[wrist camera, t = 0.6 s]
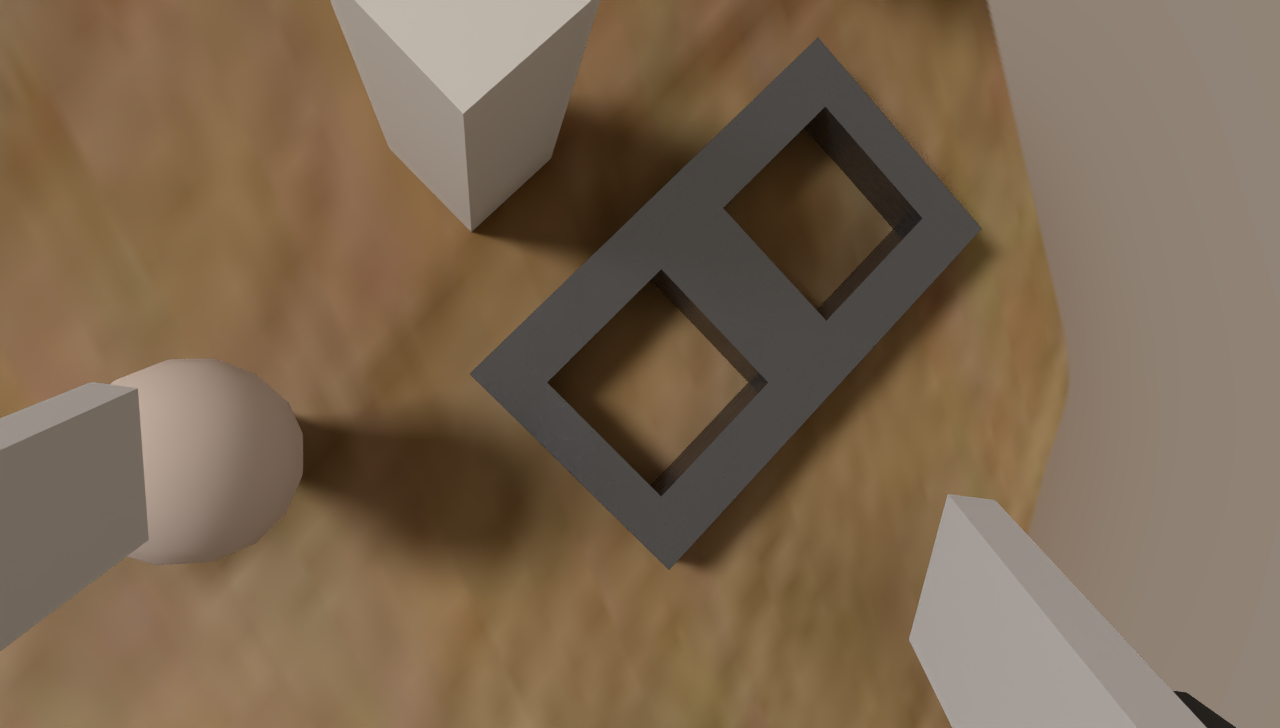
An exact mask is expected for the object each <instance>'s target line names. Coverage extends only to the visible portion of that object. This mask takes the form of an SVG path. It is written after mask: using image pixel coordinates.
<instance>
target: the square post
mask: <svg viewBox="0 0 1280 728" xmlns="http://www.w3.org/2000/svg"><path fill="white" fill-rule="evenodd" d="M330 1H331V3H332V6H333V8H334V11H335V13H336V16H337V18H338V21H339V23H340V26H341V28H342V31H343V34H344V36H345V39H346V41H347V44H348V46H349V49H350V51H351V54H352V56H353V59H354V61H355V64H356V66H357V69H358V71H359V74H360V76H361V79H362V81H363V84H364V86H365V89H366V91H367V94H368V96H369V99H370V101H371V104H372V106H373V109H374V111H375V114H376V116H377V119H378V121H379V124H380V126H381V129H382V131H383V134H384V136H385V139H386V141H387V144H388V146H389V149H390V150H391V151H392V152H393V153H394V154H395V155H396V156H397V157H398V158H399V159H400V160H401V161H402V162H403V163H404V164H405V165H406V166H407V167H408V168H409V169H410V170H411V171H412V172H413V173H414V174H415V175H416V176H417V177H418V178H419V179H420V180H421V181H422V182H423V183H424V184H425V185H426V186H427V187H428V188H429V189H430V190H431V191H432V192H433V193H434V194H435V195H436V196H437V198H438V199H439V200H440V201H441V202H442V203H443V204H444V205H445V206H446V207H447V208H448V209H449V210H450V211H451V212H452V213H453V214H454V215H455V216H456V217H457V218H458V219H459V220H460V221H461V222H462V223H463V224H464V225H465V226H466V227H467V228H468V229H469V230H470V231H471V232H472V231H473V230H474V229H475V228H476V227H478V226H479V225H480V224H481V223H482V222H483V221H484V220H485V219H486V218H487V217H488V216H489V215H491V214H492V213H493V212H494V211H495V210H496V209H497V208H498V207H499V206H500V205H501V204H502V203H504V202H505V201H506V200H507V199H508V198H509V197H510V196H511V195H512V194H513V193H514V192H515V191H517V190H518V189H519V188H520V187H521V186H522V185H523V184H524V183H525V182H526V181H527V180H528V179H530V178H531V177H532V176H533V175H534V174H535V173H536V172H537V171H538V170H539V169H540V168H541V167H543V166H544V165H545V164H546V163H547V162H548V161H549V160H550V159H551V157H552V154H553V151H554V147H555V144H556V141H557V138H558V135H559V131H560V128H561V125H562V122H563V119H564V115H565V112H566V109H567V106H568V102H569V99H570V96H571V93H572V90H573V86H574V83H575V80H576V77H577V74H578V70H579V67H580V64H581V61H582V57H583V54H584V51H585V48H586V45H587V41H588V38H589V35H590V32H591V29H592V25H593V22H594V19H595V16H596V13H597V9H598V6H599V3H600V0H330Z"/></svg>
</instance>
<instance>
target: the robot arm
mask: <svg viewBox="0 0 1280 728" xmlns="http://www.w3.org/2000/svg"><path fill="white" fill-rule="evenodd" d="M148 540H149V536H148V522H147V508H146V494H145V480H144V466H143V452H142V438H141V424H140V410H139V396H138V388H133V387H125V386H117V385H110V384H102V383H94V382H90V383H87V384H85V385H82V386H80V387H77V388H75V389H72V390H70V391H67V392H65V393H62V394H60V395H57V396H55V397H52V398H50V399H47V400H45V401H42V402H40V403H37V404H35V405H32V406H30V407H27V408H25V409H22V410H20V411H17V412H15V413H13V414H10V415H8V416H5V417H3V418H0V651H1V650H3V649H4V648H5V647H7V646H8V645H9V644H11V643H12V642H13V641H15V640H16V639H17V638H19V637H20V636H21V635H23V634H24V633H25V632H27V631H28V630H29V629H31V628H32V627H33V626H35V625H36V624H37V623H39V622H40V621H41V620H43V619H44V618H45V617H47V616H48V615H49V614H51V613H52V612H53V611H55V610H56V609H57V608H59V607H60V606H61V605H63V604H64V603H65V602H67V601H68V600H69V599H71V598H72V597H73V596H75V595H76V594H77V593H79V592H80V591H81V590H83V589H84V588H85V587H87V586H88V585H89V584H91V583H92V582H93V581H95V580H96V579H97V578H99V577H100V576H101V575H103V574H104V573H105V572H107V571H108V570H109V569H111V568H112V567H113V566H115V565H116V564H117V563H119V562H120V561H121V560H123V559H124V558H125V557H127V556H128V555H129V554H131V553H132V552H133V551H135V550H136V549H137V548H139V547H140V546H141V545H143V544H144V543H145V542H147V541H148ZM909 641H910V643H911V645H912V647H913V649H914V651H915V653H916V655H917V657H918V659H919V661H920V663H921V665H922V667H923V669H924V671H925V673H926V675H927V677H928V679H929V681H930V683H931V685H932V687H933V690H934V692H935V694H936V696H937V698H938V700H939V702H940V704H941V706H942V708H943V710H944V712H945V714H946V716H947V718H948V720H949V722H950V724H951V726H952V728H1236V727H1234V726H1233V725H1232V724H1230V723H1229V722H1227V721H1226V720H1224V719H1223V718H1221V717H1220V716H1219V715H1217V714H1216V713H1215V712H1213V711H1212V710H1210V709H1209V708H1208V707H1206V706H1205V705H1203V704H1202V703H1200V702H1199V701H1198V700H1196V699H1195V698H1193V697H1192V696H1191V695H1189V694H1188V693H1185V692H1178V691H1172V690H1171V689H1170V688H1169V687H1168V686H1167V685H1166V684H1165V682H1164V681H1163V680H1162V679H1161V678H1160V677H1159V676H1158V675H1157V674H1156V673H1155V672H1154V671H1153V669H1152V668H1151V667H1150V666H1149V665H1148V664H1147V663H1146V662H1145V661H1144V660H1143V659H1142V658H1141V656H1140V655H1138V653H1137V652H1136V651H1135V650H1134V649H1133V648H1132V647H1131V646H1130V645H1129V644H1128V642H1126V640H1125V639H1124V638H1123V637H1122V636H1121V635H1120V634H1119V633H1118V632H1117V631H1116V630H1115V629H1114V627H1113V626H1112V625H1111V624H1110V623H1109V622H1108V621H1107V620H1106V619H1105V618H1104V617H1103V616H1102V615H1101V614H1100V612H1098V610H1097V609H1096V608H1095V607H1094V606H1093V605H1092V604H1091V603H1090V602H1089V601H1088V599H1087V598H1086V597H1085V596H1084V595H1083V594H1082V593H1081V592H1080V591H1079V590H1078V589H1077V588H1076V587H1075V586H1074V584H1073V583H1072V582H1071V581H1070V580H1069V579H1068V578H1067V577H1066V576H1065V575H1064V574H1063V573H1062V572H1061V571H1060V569H1059V568H1058V567H1057V566H1056V565H1055V564H1054V563H1053V562H1052V561H1051V560H1050V559H1049V558H1048V556H1047V555H1046V554H1045V553H1044V552H1043V551H1042V550H1041V549H1040V548H1039V547H1038V546H1037V545H1036V544H1035V543H1034V541H1033V540H1031V538H1030V537H1029V536H1028V535H1027V534H1026V533H1025V532H1024V531H1023V530H1022V529H1021V527H1020V526H1019V525H1018V524H1017V523H1016V522H1015V521H1014V520H1013V519H1012V518H1011V517H1010V516H1009V515H1008V514H1007V512H1006V511H1005V510H1004V509H1003V508H1002V507H1001V506H1000V505H999V504H998V503H997V502H996V501H995V500H990V499H982V498H974V497H967V496H959V495H952V494H948V495H947V499H946V503H945V506H944V510H943V514H942V518H941V521H940V525H939V529H938V533H937V536H936V540H935V544H934V548H933V551H932V555H931V559H930V563H929V566H928V570H927V574H926V577H925V581H924V585H923V589H922V592H921V596H920V600H919V604H918V607H917V611H916V615H915V619H914V622H913V626H912V630H911V634H910V637H909Z"/></svg>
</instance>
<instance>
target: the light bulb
mask: <svg viewBox="0 0 1280 728" xmlns="http://www.w3.org/2000/svg"><path fill="white" fill-rule="evenodd" d="M110 385H117V386H125V387H133V388H138V396H139V410H140V424H141V438H142V452H143V466H144V480H145V494H146V508H147V522H148V536H149V540H148V541H147V542H145V543H144V544H143V545H141V546H140V547H139V548H137V549H136V550H135V551H133V552H132V553H131V554H129V555H128V557H131V558H135V559H138V560H141V561H144V562H147V563H150V564H154V565H165V564H182V563H198V562H208V561H216V560H219V559H221V558H224V557H226V556H228V555H230V554H232V553H235V552H237V551H239V550H241V549H244V548H246V547H248V546H250V545H253V544H255V543H257V542H258V541H259V540H260V539H261V538H262V537H263V536H264V535H265V534H266V533H267V532H268V531H269V530H270V529H271V528H272V527H273V526H274V525H275V524H276V523H277V522H278V521H279V520H280V519H281V518H282V517H283V516H284V515H285V514H286V512H287V510H288V508H289V505H290V503H291V501H292V498H293V496H294V494H295V492H296V489H297V487H298V485H299V482H300V480H301V478H302V475H303V433H302V431H301V429H300V426H299V424H298V422H297V420H296V418H295V415H294V413H293V411H292V409H291V407H290V404H289V403H288V402H287V401H286V400H285V399H284V398H283V397H281V396H280V395H279V394H278V393H277V392H276V391H275V390H274V389H272V388H271V387H270V386H269V385H268V384H267V383H266V382H265V381H263V380H262V379H261V378H260V377H259V376H258V375H257V374H255V373H253V372H250V371H247V370H244V369H242V368H239V367H236V366H234V365H231V364H228V363H226V362H223V361H220V360H217V359H215V358H214V359H168V360H166V361H163V362H161V363H158V364H155V365H153V366H150V367H148V368H145V369H143V370H140V371H137V372H135V373H132V374H130V375H127V376H125V377H122V378H119V379H117V380H115V381H114V382H112V383H111V384H110Z"/></svg>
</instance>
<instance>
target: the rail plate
mask: <svg viewBox="0 0 1280 728" xmlns="http://www.w3.org/2000/svg"><path fill="white" fill-rule="evenodd" d="M804 127H805V128H806V130H807V131H808V132H809V133H810V134H811V135H812V136H813V137H814V139H815V140H816V141H817V142H818V143H819V144H820V145H821V147H822V148H823V149H824V150H825V151H826V152H827V153H828V155H829V156H830V157H831V158H832V159H833V160H834V161H835V163H836V164H837V165H838V166H839V167H840V168H841V169H842V171H843V172H844V173H845V174H846V175H847V176H848V177H849V179H850V180H851V181H852V182H853V183H854V184H855V185H856V186H857V188H858V189H859V190H860V191H861V192H862V193H863V194H864V196H865V197H866V198H867V199H868V200H869V201H870V202H871V204H872V205H873V206H874V207H875V208H876V209H877V210H878V212H879V213H880V214H881V215H882V216H883V217H884V218H885V220H886V221H887V222H888V223H889V224H890V225H891V226H892V227H893V230H892V231H891V232H890V233H889V235H888V236H887V237H886V238H885V239H884V240H883V241H882V242H881V243H880V244H879V245H878V246H877V247H876V248H875V249H874V250H873V251H872V253H871V254H870V255H869V256H868V257H867V258H866V259H865V260H864V261H863V262H862V263H861V264H860V265H859V266H858V267H857V268H856V269H855V271H854V272H853V273H852V274H851V275H850V276H849V277H848V278H847V279H846V280H845V281H844V282H843V283H842V284H841V285H840V286H839V287H838V289H837V290H836V291H835V292H834V293H833V294H832V295H831V296H830V297H829V298H828V299H827V300H826V301H825V302H824V303H823V304H822V305H821V306H820V308H819V309H818V310H816V309H815V308H814V307H813V306H812V305H811V303H810V302H809V301H808V300H807V299H806V298H805V297H804V296H803V295H802V294H801V293H800V291H799V290H798V289H797V288H796V287H795V286H794V285H793V284H792V283H791V282H790V281H789V279H788V278H787V277H786V276H785V275H784V274H783V273H782V272H781V271H780V270H779V268H778V267H777V266H776V265H775V264H774V263H773V262H772V261H771V260H770V259H769V258H768V256H767V255H766V254H765V253H764V252H763V251H762V250H761V249H760V248H759V247H758V246H757V244H756V243H755V242H754V241H753V240H752V239H751V238H750V237H749V236H748V235H747V233H746V232H745V231H744V230H743V229H742V228H741V227H740V226H739V225H738V224H737V223H736V221H735V220H734V219H733V218H732V217H731V216H730V215H729V214H728V213H727V212H726V211H725V209H724V208H723V207H725V206H726V205H727V204H728V203H729V202H730V201H731V200H732V199H733V198H734V197H735V196H736V195H737V194H738V193H739V192H740V191H741V190H742V189H743V188H744V187H745V186H746V185H747V184H748V183H749V182H750V181H751V180H752V179H753V178H754V177H755V176H756V175H757V174H758V173H759V172H760V171H761V170H762V169H763V168H764V167H765V166H766V165H767V164H768V163H769V162H770V161H771V160H772V159H773V158H774V157H775V156H776V155H777V154H778V153H779V152H780V151H781V150H782V149H783V148H784V147H785V146H786V145H787V144H788V143H789V142H790V141H791V140H792V139H793V138H794V137H795V136H796V135H797V134H798V133H799V132H800V131H801V130H802V129H803V128H804ZM981 229H982V228H981V227H980V226H979V225H978V224H977V223H976V221H975V220H974V219H973V218H972V217H971V216H970V214H969V213H968V212H967V211H966V210H965V209H964V207H963V206H962V205H961V204H960V203H959V202H958V200H957V199H956V198H955V197H954V196H953V195H952V193H951V192H950V191H949V190H948V189H947V188H946V186H945V185H944V184H943V183H942V182H941V181H940V179H939V178H938V177H937V176H936V175H935V173H934V172H933V171H932V170H931V169H930V168H929V166H928V165H927V164H926V163H925V162H924V161H923V159H922V158H921V157H920V156H919V155H918V154H917V152H916V151H915V150H914V149H913V148H912V147H911V145H910V144H909V143H908V142H907V141H906V140H905V138H904V137H903V136H902V135H901V134H900V133H899V131H898V130H897V129H896V128H895V127H894V126H893V124H892V123H891V122H890V121H889V120H888V119H887V117H886V116H885V115H884V114H883V113H882V112H881V110H880V109H879V108H878V107H877V106H876V105H875V103H874V102H873V101H872V100H871V99H870V98H869V96H868V95H867V94H866V93H865V92H864V91H863V89H862V88H861V87H860V86H859V85H858V84H857V82H856V81H855V80H854V79H853V78H852V77H851V75H850V74H849V73H848V72H847V71H846V70H845V68H844V67H843V66H842V65H841V64H840V63H839V61H838V60H837V59H836V58H835V57H834V56H833V54H832V53H831V52H830V51H829V50H828V49H827V47H826V46H825V45H824V44H823V43H822V42H821V40H820V39H819V38H817V39H816V40H815V41H814V42H813V43H812V44H811V45H810V46H809V47H808V48H807V49H805V50H804V51H803V52H802V53H801V54H800V55H799V56H798V57H797V58H796V59H795V60H794V61H793V62H792V63H791V64H790V65H789V66H788V67H787V68H786V69H785V70H784V71H783V72H782V73H781V74H780V75H779V76H778V77H776V78H775V79H774V80H773V81H772V82H771V83H770V84H769V85H768V86H767V87H766V88H765V89H764V90H763V91H762V92H761V93H760V94H759V95H758V96H757V97H756V98H755V99H754V100H753V101H752V102H751V103H750V104H749V105H747V106H746V107H745V108H744V109H743V110H742V111H741V112H740V113H739V114H738V115H737V116H736V117H735V118H734V119H733V120H732V121H731V122H730V123H729V124H728V125H727V126H726V127H725V128H724V129H723V130H722V131H721V132H720V133H718V134H717V135H716V136H715V137H714V138H713V139H712V140H711V141H710V142H709V143H708V144H707V145H706V146H705V147H704V148H703V149H702V150H701V151H700V152H699V153H698V154H697V155H696V156H695V157H694V158H693V159H692V160H691V161H689V162H688V163H687V164H686V165H685V166H684V167H683V168H682V169H681V170H680V171H679V172H678V173H677V174H676V175H675V176H674V177H673V178H672V179H671V180H670V181H669V182H668V183H667V184H666V185H665V186H664V187H663V188H662V189H660V190H659V191H658V192H657V193H656V194H655V195H654V196H653V197H652V198H651V199H650V200H649V201H648V202H647V203H646V204H645V205H644V206H643V207H642V208H641V209H640V210H639V211H638V212H637V213H636V214H635V215H634V216H633V217H631V218H630V219H629V220H628V221H627V222H626V223H625V224H624V225H623V226H622V227H621V228H620V229H619V230H618V231H617V232H616V233H615V234H614V235H613V236H612V237H611V238H610V239H609V240H608V241H607V242H606V243H605V244H604V245H602V246H601V247H600V248H599V249H598V250H597V251H596V252H595V253H594V254H593V255H592V256H591V257H590V258H589V259H588V260H587V261H586V262H585V263H584V264H583V265H582V266H581V267H580V268H579V269H578V270H577V271H576V272H575V273H573V274H572V275H571V276H570V277H569V278H568V279H567V280H566V281H565V282H564V283H563V284H562V285H561V286H560V287H559V288H558V289H557V290H556V291H555V292H554V293H553V294H552V295H551V296H550V297H549V298H548V299H547V300H546V301H544V302H543V303H542V304H541V305H540V306H539V307H538V308H537V309H536V310H535V311H534V312H533V313H532V314H531V315H530V316H529V317H528V318H527V319H526V320H525V321H524V322H523V323H522V324H521V325H520V326H519V327H518V328H517V329H515V330H514V331H513V332H512V333H511V334H510V335H509V336H508V337H507V338H506V339H505V340H504V341H503V342H502V343H501V344H500V345H499V346H498V347H497V348H496V349H495V350H494V351H493V352H492V353H491V354H490V355H489V356H488V357H486V358H485V359H484V360H483V361H482V362H481V363H480V364H479V365H478V366H477V367H476V368H475V369H474V370H473V371H472V372H471V373H470V375H471V376H472V377H473V378H474V379H475V380H476V381H477V382H479V383H480V384H481V385H482V386H483V387H484V388H485V389H486V390H487V391H488V392H489V393H490V394H491V395H492V396H493V397H494V398H495V399H496V400H497V401H498V402H499V403H500V404H501V405H502V406H503V407H504V408H505V409H506V410H507V411H508V412H509V413H510V414H511V415H512V416H513V417H514V418H515V419H516V420H517V421H518V422H519V423H520V424H521V425H522V426H523V427H524V428H525V429H526V430H527V431H528V432H529V433H530V434H531V435H532V436H533V437H534V438H535V439H536V440H537V441H538V442H539V443H541V444H542V445H543V446H544V447H545V448H546V449H547V450H548V451H549V452H550V453H551V454H552V455H553V456H554V457H555V458H556V459H557V460H558V461H559V462H560V463H561V464H562V465H563V466H564V467H565V468H566V469H567V470H568V471H569V472H570V473H571V474H572V475H573V476H574V477H575V478H576V479H577V480H578V481H579V482H580V483H581V484H582V485H583V486H584V487H585V488H586V489H587V490H588V491H589V492H590V493H591V494H592V495H593V496H594V497H595V498H596V499H597V500H598V501H599V502H600V503H602V504H603V505H604V506H605V507H606V508H607V509H608V510H609V511H610V512H611V513H612V514H613V515H614V516H615V517H616V518H617V519H618V520H619V521H620V522H621V523H622V524H623V525H624V526H625V527H626V528H627V529H628V530H629V531H630V532H631V533H632V534H633V535H634V536H635V537H636V538H637V539H638V540H639V541H640V542H641V543H642V544H643V545H644V546H645V547H646V548H647V549H648V550H649V551H650V552H651V553H652V554H653V555H654V556H655V557H656V558H657V559H658V560H659V561H660V562H661V563H662V564H664V565H665V566H666V567H667V568H668V569H669V570H670V569H671V567H672V566H673V565H674V564H675V563H676V562H677V561H678V560H679V559H680V558H681V557H682V555H683V554H684V553H685V552H686V551H687V550H688V549H689V548H690V547H691V546H692V545H693V543H694V542H695V541H696V540H697V539H698V538H699V537H700V536H701V535H702V534H703V533H704V531H705V530H706V529H707V528H708V527H709V526H710V525H711V524H712V523H713V522H714V521H715V519H716V518H717V517H718V516H719V515H720V514H721V513H722V512H723V511H724V510H725V509H726V507H727V506H728V505H729V504H730V503H731V502H732V501H733V500H734V499H735V498H736V497H737V495H738V494H739V493H740V492H741V491H742V490H743V489H744V488H745V487H746V486H747V485H748V483H749V482H750V481H751V480H752V479H753V478H754V477H755V476H756V475H757V474H758V473H759V471H760V470H761V469H762V468H763V467H764V466H765V465H766V464H767V463H768V462H769V461H770V459H771V458H772V457H773V456H774V455H775V454H776V453H777V452H778V451H779V450H780V448H781V447H782V446H783V445H784V444H785V443H786V442H787V441H788V440H789V439H790V438H791V436H792V435H793V434H794V433H795V432H796V431H797V430H798V429H799V428H800V427H801V426H802V424H803V423H804V422H805V421H806V420H807V419H808V418H809V417H810V416H811V415H812V414H813V412H814V411H815V410H816V409H817V408H818V407H819V406H820V405H821V404H822V403H823V402H824V400H825V399H826V398H827V397H828V396H829V395H830V394H831V393H832V392H833V391H834V390H835V388H836V387H837V386H838V385H839V384H840V383H841V382H842V381H843V380H844V379H845V378H846V376H847V375H848V374H849V373H850V372H851V371H852V370H853V369H854V368H855V367H856V366H857V364H858V363H859V362H860V361H861V360H862V359H863V358H864V357H865V356H866V355H867V354H868V352H869V351H870V350H871V349H872V348H873V347H874V346H875V345H876V344H877V343H878V342H879V340H880V339H881V338H882V337H883V336H884V335H885V334H886V333H887V332H888V331H889V330H890V328H891V327H892V326H893V325H894V324H895V323H896V322H897V321H898V320H899V319H900V318H901V316H902V315H903V314H904V313H905V312H906V311H907V310H908V309H909V308H910V307H911V306H912V304H913V303H914V302H915V301H916V300H917V299H918V298H919V297H920V296H921V295H922V294H923V292H924V291H925V290H926V289H927V288H928V287H929V286H930V285H931V284H932V283H933V282H934V280H935V279H936V278H937V277H938V276H939V275H940V274H941V273H942V272H943V271H944V270H945V268H946V267H947V266H948V265H949V264H950V263H951V262H952V261H953V260H954V259H955V257H956V256H957V255H958V254H959V253H960V252H961V251H962V250H963V249H964V248H965V247H966V245H967V244H968V243H969V242H970V241H971V240H972V239H973V238H974V237H975V236H976V235H977V233H978V232H979V231H980V230H981ZM650 280H652V281H653V282H654V283H655V284H656V285H657V286H658V287H659V288H660V289H661V290H662V291H663V293H664V294H665V295H666V296H667V297H668V298H669V299H670V300H671V301H672V302H673V303H674V304H675V305H676V306H677V307H678V308H679V309H680V310H681V312H682V313H683V314H684V315H685V316H686V317H687V318H688V319H689V320H690V321H691V322H692V323H693V324H694V325H695V326H696V327H697V328H698V329H699V330H700V332H701V333H702V334H703V335H704V336H705V337H706V338H707V339H708V340H709V341H710V342H711V343H712V344H713V345H714V346H715V347H716V348H717V349H718V351H719V352H720V353H721V354H722V355H723V356H724V357H725V358H726V359H727V360H728V361H729V362H730V363H731V364H732V365H733V366H734V367H735V368H736V369H737V371H738V372H739V373H740V374H741V375H742V376H743V377H744V378H745V379H746V380H747V381H748V382H749V383H748V384H747V385H746V386H745V387H744V388H743V389H742V390H741V391H740V392H739V393H738V394H737V395H736V396H735V397H734V399H733V400H732V401H731V402H730V403H729V404H728V405H727V406H726V407H725V408H724V409H723V410H722V411H721V412H720V413H719V414H718V415H717V417H716V418H715V419H714V420H713V421H712V422H711V423H710V424H709V425H708V426H707V427H706V428H705V429H704V430H703V431H702V432H701V433H700V435H699V436H698V437H697V438H696V439H695V440H694V441H693V442H692V443H691V444H690V445H689V446H688V447H687V448H686V449H685V450H684V451H683V452H682V454H681V455H680V456H679V457H678V458H677V459H676V460H675V461H674V462H673V463H672V464H671V465H670V466H669V467H668V468H667V469H666V470H665V472H664V473H663V474H662V475H661V476H660V477H659V478H658V479H657V480H656V481H655V482H654V483H653V484H652V485H651V486H650V485H649V484H648V483H647V482H646V481H645V480H644V479H643V478H642V477H641V476H640V475H639V474H638V473H637V472H636V471H635V470H634V469H633V468H632V467H631V466H630V465H629V464H628V463H627V462H626V461H625V460H624V459H623V458H622V457H621V456H620V455H619V454H618V453H617V452H616V451H615V450H614V449H613V448H612V447H611V446H610V445H609V444H608V443H607V442H606V441H605V440H604V439H603V438H602V437H601V436H600V435H599V434H598V433H597V432H596V431H595V430H594V429H593V428H592V427H591V426H590V425H589V424H588V423H587V422H586V421H585V420H584V419H583V418H582V417H581V416H580V415H579V414H578V413H577V412H576V411H575V410H574V409H573V408H572V407H571V406H570V405H569V404H568V403H567V402H566V401H565V400H564V399H563V398H562V397H561V396H560V395H559V394H558V393H557V392H556V391H555V390H554V389H553V388H552V387H551V386H550V385H549V384H548V383H547V382H548V381H549V380H550V379H551V378H552V377H553V376H554V375H555V374H556V373H557V372H558V371H559V370H560V369H561V368H562V367H563V366H564V365H565V364H566V363H567V362H568V361H569V360H570V359H571V358H572V357H573V356H574V355H575V354H576V353H577V352H578V351H579V350H580V349H581V348H582V347H583V346H584V345H585V344H586V343H587V342H588V341H589V340H590V339H591V338H592V337H593V336H594V335H595V334H596V333H597V332H598V331H599V330H600V329H601V328H602V327H603V326H604V325H605V324H607V323H608V322H609V321H610V320H611V319H612V318H613V317H614V316H615V315H616V314H617V313H618V312H619V311H620V310H621V309H622V308H623V307H624V306H625V305H626V304H627V303H628V302H629V301H630V300H631V299H632V298H633V297H634V296H635V295H636V294H637V293H638V292H639V291H640V290H641V289H642V288H643V287H644V286H645V285H646V284H647V283H648V282H649V281H650Z"/></svg>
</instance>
